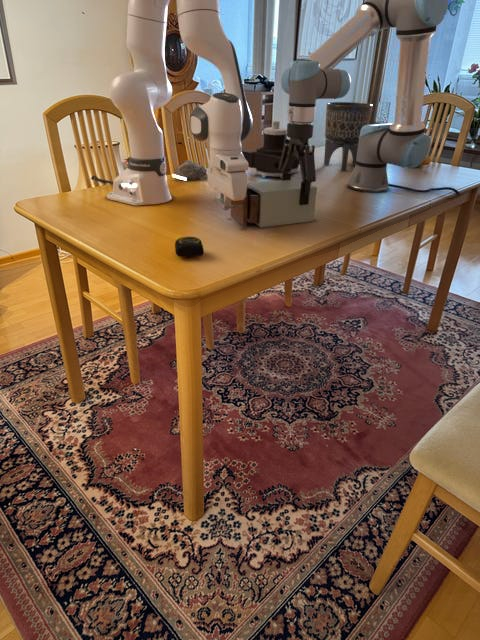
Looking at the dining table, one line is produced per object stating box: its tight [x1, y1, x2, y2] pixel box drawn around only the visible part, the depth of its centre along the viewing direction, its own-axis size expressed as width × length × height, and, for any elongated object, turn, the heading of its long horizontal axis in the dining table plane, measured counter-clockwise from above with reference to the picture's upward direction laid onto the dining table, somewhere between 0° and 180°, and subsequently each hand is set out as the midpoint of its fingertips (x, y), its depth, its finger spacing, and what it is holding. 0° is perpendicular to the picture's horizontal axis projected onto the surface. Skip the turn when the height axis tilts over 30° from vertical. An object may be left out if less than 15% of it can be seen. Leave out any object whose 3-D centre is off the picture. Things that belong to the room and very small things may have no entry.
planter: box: [323, 101, 374, 172], centre depth 204 cm, size 20×20×26 cm
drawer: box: [212, 188, 260, 227], centre depth 136 cm, size 23×10×8 cm, turn 113°
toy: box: [417, 157, 432, 168], centre depth 216 cm, size 11×6×15 cm
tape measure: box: [174, 236, 205, 258], centre depth 113 cm, size 7×7×4 cm
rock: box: [175, 159, 208, 182], centre depth 183 cm, size 13×9×6 cm, turn 131°
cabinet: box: [247, 178, 318, 228], centre depth 139 cm, size 18×11×10 cm, turn 113°
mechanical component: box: [242, 120, 300, 179], centre depth 191 cm, size 22×21×30 cm
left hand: (225, 208), depth 132 cm, fingers closed, pressing on drawer
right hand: (294, 199), depth 140 cm, fingers closed on cabinet, 11 cm apart
